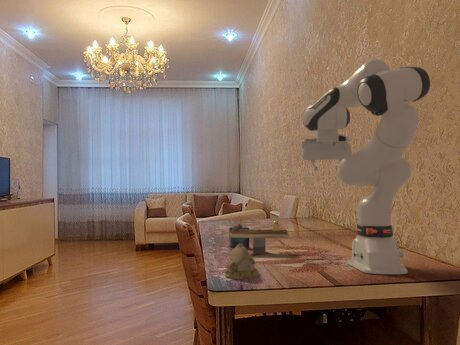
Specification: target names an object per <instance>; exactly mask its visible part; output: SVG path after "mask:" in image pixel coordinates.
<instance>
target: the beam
mask: <svg viewBox="0 0 460 345" xmlns="http://www.w3.org/2000/svg"><path fill="white" fill-rule="evenodd" d="M231 227H232V231H231V233H230V238H249V239H252V248H253V249H252V253H253V255H258V254H259V255H266V239H289V238H290V234H289V232H288V229H280V231H272V229H260V228H258V229H255V228H254V229H250V228H249V229H238V225H232V226H231Z"/></svg>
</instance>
